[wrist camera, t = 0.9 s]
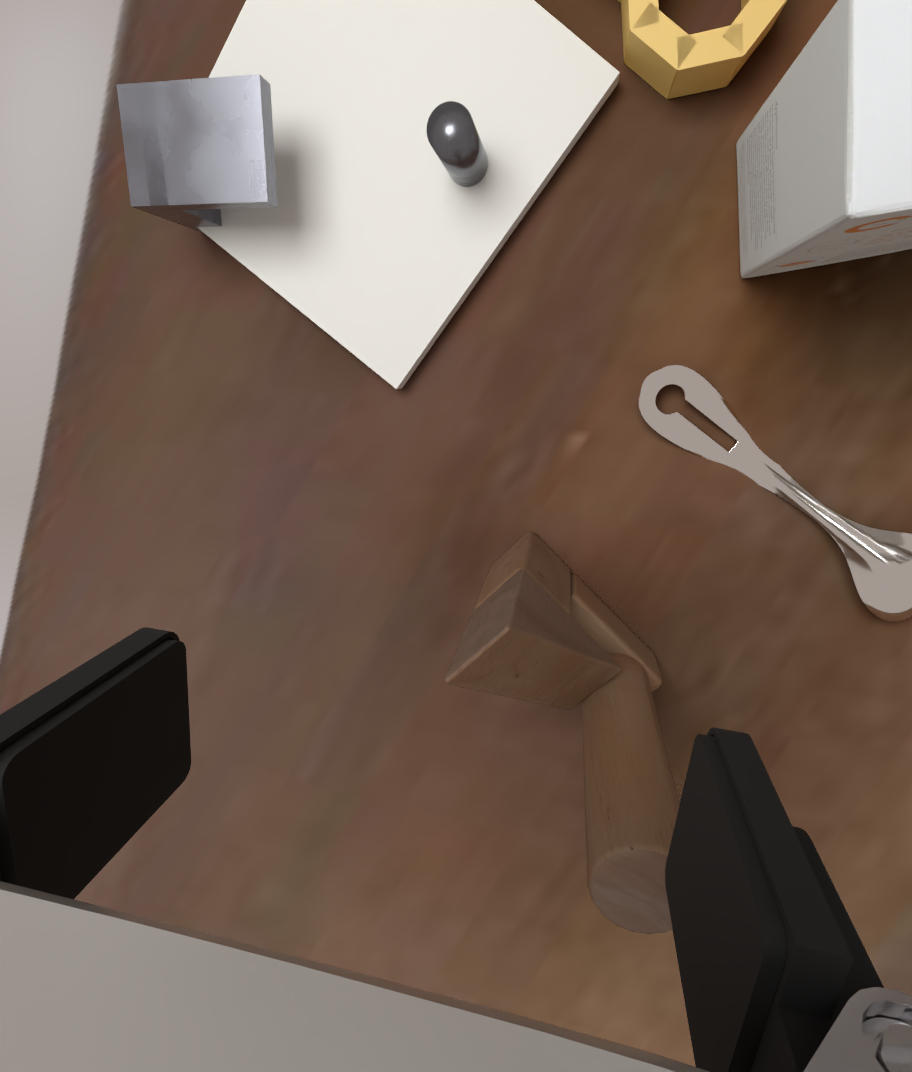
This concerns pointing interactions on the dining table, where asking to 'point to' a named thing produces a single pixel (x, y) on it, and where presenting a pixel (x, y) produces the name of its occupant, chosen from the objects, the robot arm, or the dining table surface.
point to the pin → (457, 143)
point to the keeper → (199, 147)
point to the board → (400, 155)
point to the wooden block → (584, 716)
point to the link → (691, 46)
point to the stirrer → (785, 490)
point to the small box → (832, 147)
